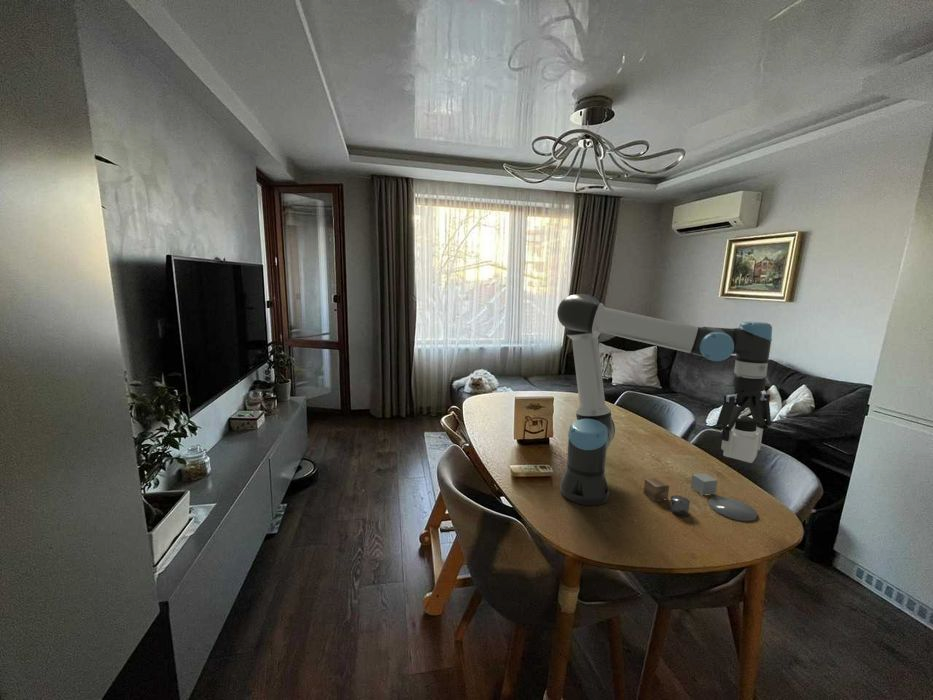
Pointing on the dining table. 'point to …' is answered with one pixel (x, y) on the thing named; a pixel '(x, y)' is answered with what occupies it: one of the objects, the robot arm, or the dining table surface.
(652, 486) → the walnut block
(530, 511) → the dining table surface
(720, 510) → the slate coaster
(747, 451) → the medicine bottle
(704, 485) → the grey block
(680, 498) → the metal tin
